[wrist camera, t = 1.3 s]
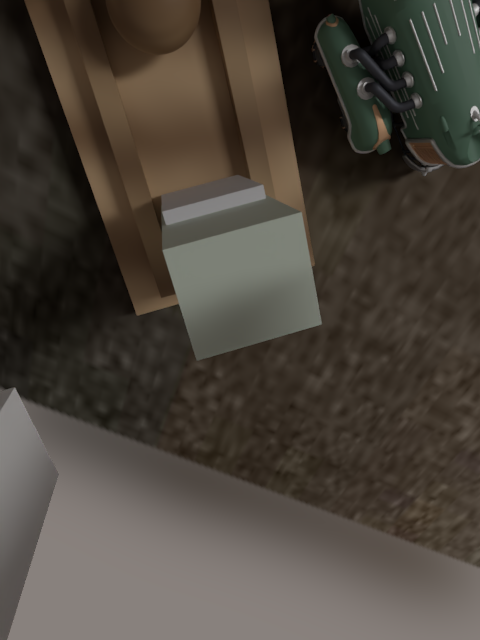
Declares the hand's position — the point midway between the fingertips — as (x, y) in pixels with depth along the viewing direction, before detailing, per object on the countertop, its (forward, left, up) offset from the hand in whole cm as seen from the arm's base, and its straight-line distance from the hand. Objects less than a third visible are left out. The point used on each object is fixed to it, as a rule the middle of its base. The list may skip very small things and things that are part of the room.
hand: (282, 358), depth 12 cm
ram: (-1, 0, -17) cm, 17 cm away
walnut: (-12, 0, -17) cm, 21 cm away
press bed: (-6, 0, -19) cm, 20 cm away
